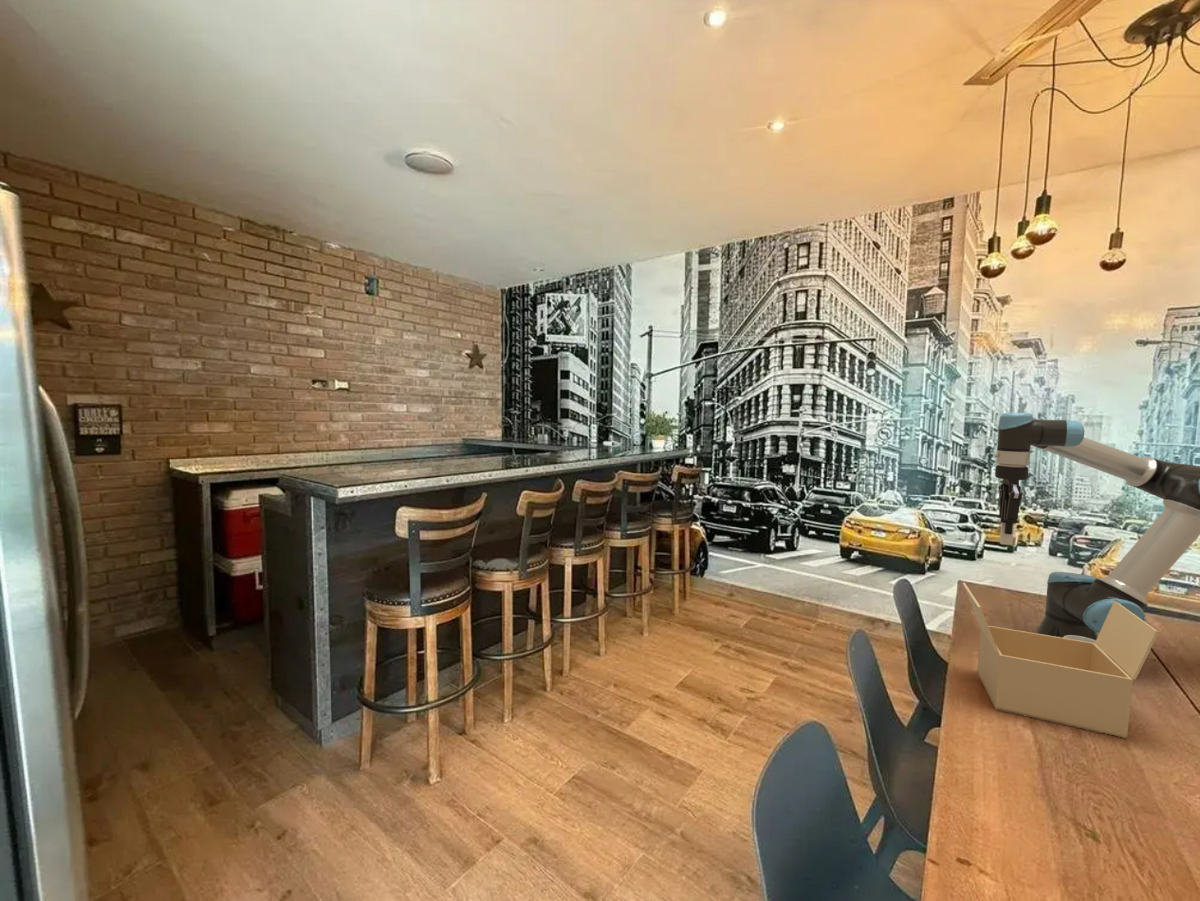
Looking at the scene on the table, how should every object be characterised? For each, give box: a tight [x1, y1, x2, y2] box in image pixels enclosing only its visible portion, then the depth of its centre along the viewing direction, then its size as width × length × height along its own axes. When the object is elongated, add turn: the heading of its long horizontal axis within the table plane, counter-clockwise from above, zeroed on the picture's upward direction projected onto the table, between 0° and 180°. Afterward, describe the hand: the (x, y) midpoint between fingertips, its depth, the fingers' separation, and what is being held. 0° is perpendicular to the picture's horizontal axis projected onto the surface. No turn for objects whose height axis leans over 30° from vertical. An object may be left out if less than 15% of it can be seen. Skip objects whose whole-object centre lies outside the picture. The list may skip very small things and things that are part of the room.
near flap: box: [1095, 601, 1160, 680], centre depth 121 cm, size 12×20×1 cm
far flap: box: [962, 582, 999, 654], centre depth 133 cm, size 12×20×1 cm
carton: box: [976, 625, 1134, 740], centre depth 128 cm, size 24×20×14 cm
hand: (1005, 543), depth 150 cm, fingers closed
